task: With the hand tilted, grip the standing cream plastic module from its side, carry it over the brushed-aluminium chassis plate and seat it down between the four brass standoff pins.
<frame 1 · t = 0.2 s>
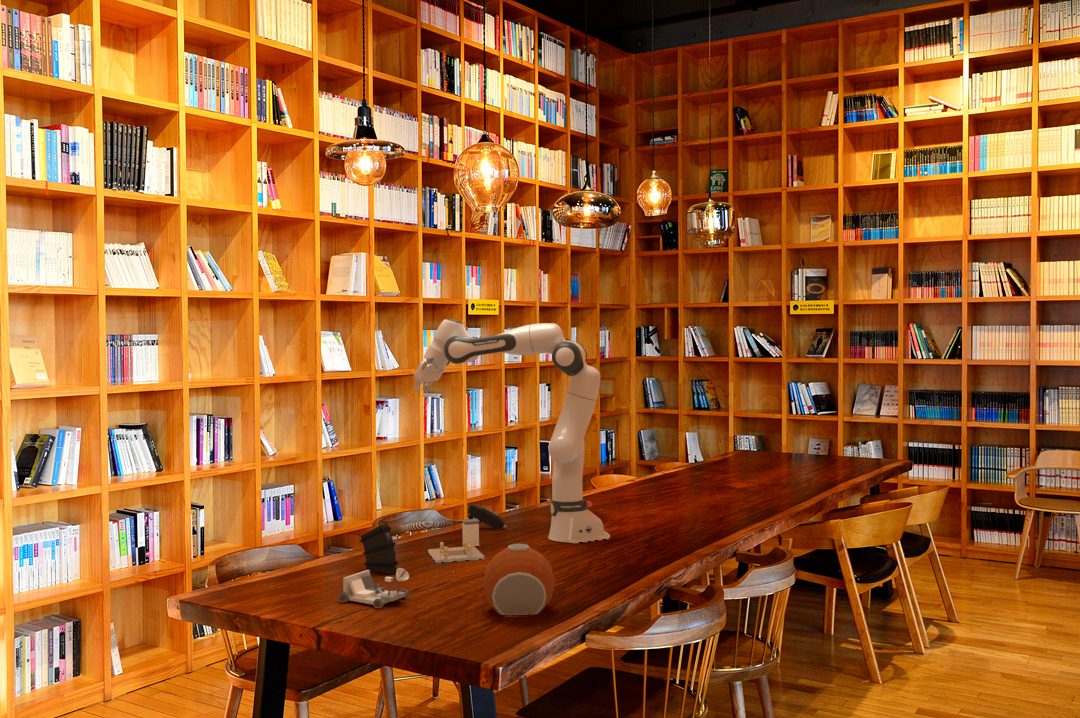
hand: (420, 390, 335), 54 cm above the table, tool tilted 30°, fingers open, 8 cm apart
black ribbed panel: (378, 571, 280), on the table
alarm clock: (519, 610, 237), on the table
module: (470, 545, 314), on the table
chassis: (455, 555, 300), on the table
toy lunar rover: (377, 603, 247), on the table
gun: (487, 529, 343), on the table
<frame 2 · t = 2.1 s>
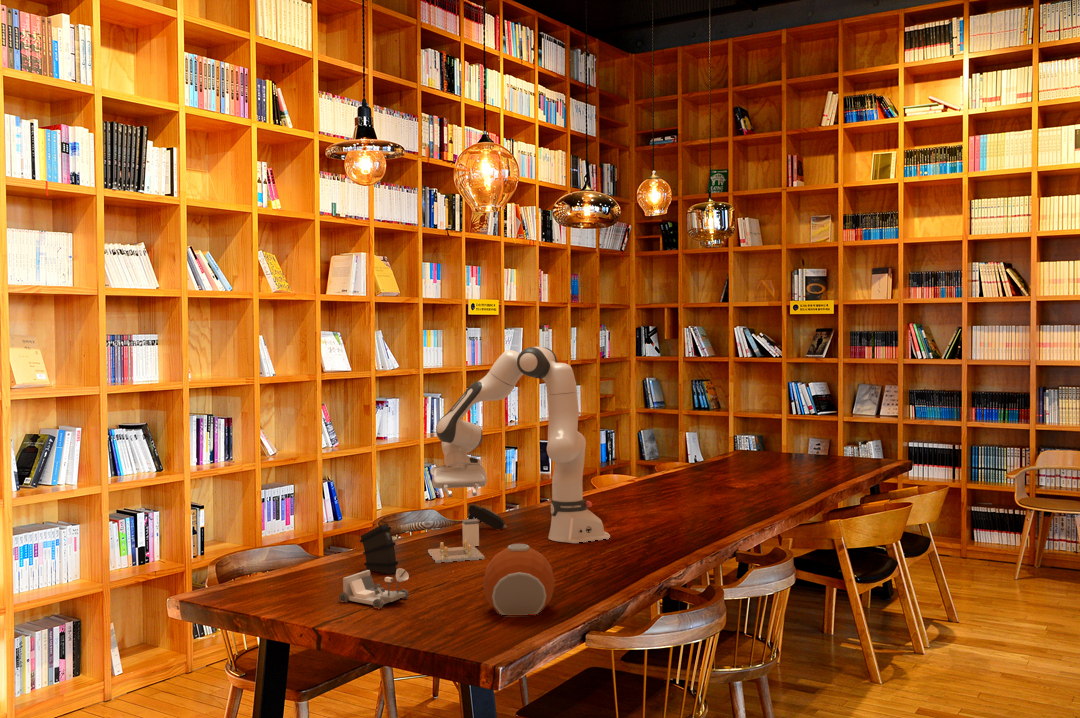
hand: (462, 495, 326), 16 cm above the table, tool tilted 45°, fingers open, 8 cm apart
nothing on the table moved.
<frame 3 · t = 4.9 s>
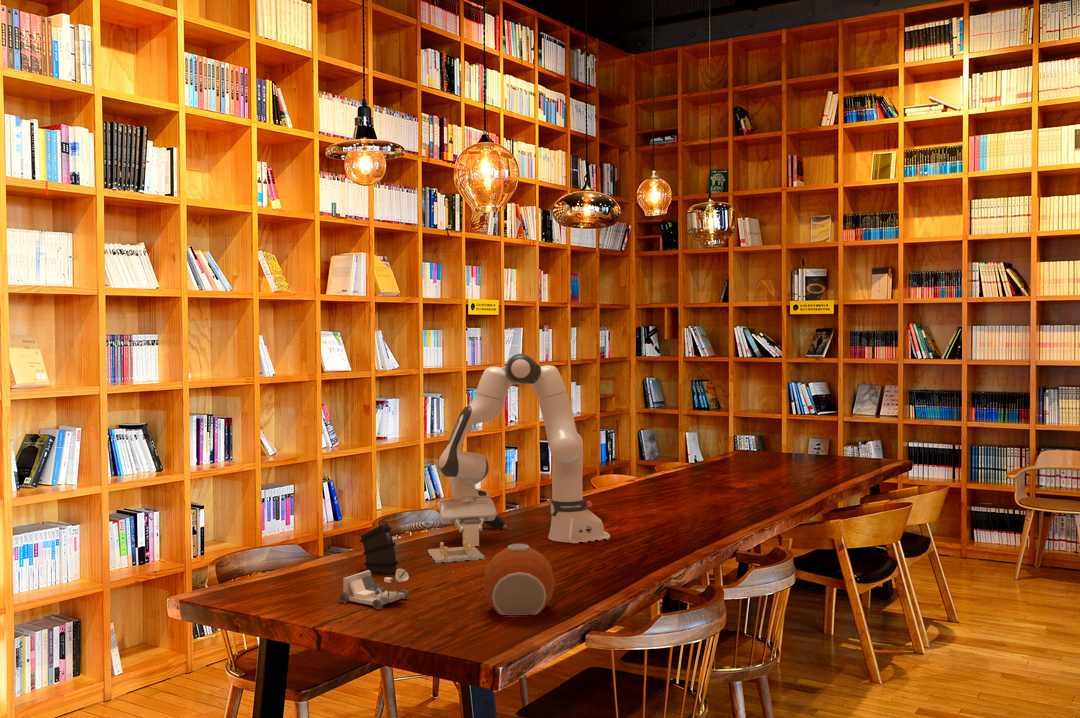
hand: (471, 530, 314), 5 cm above the table, tool tilted 45°, fingers closed on module, 5 cm apart
module: (470, 545, 314), on the table, touching gripper
everything else where it was.
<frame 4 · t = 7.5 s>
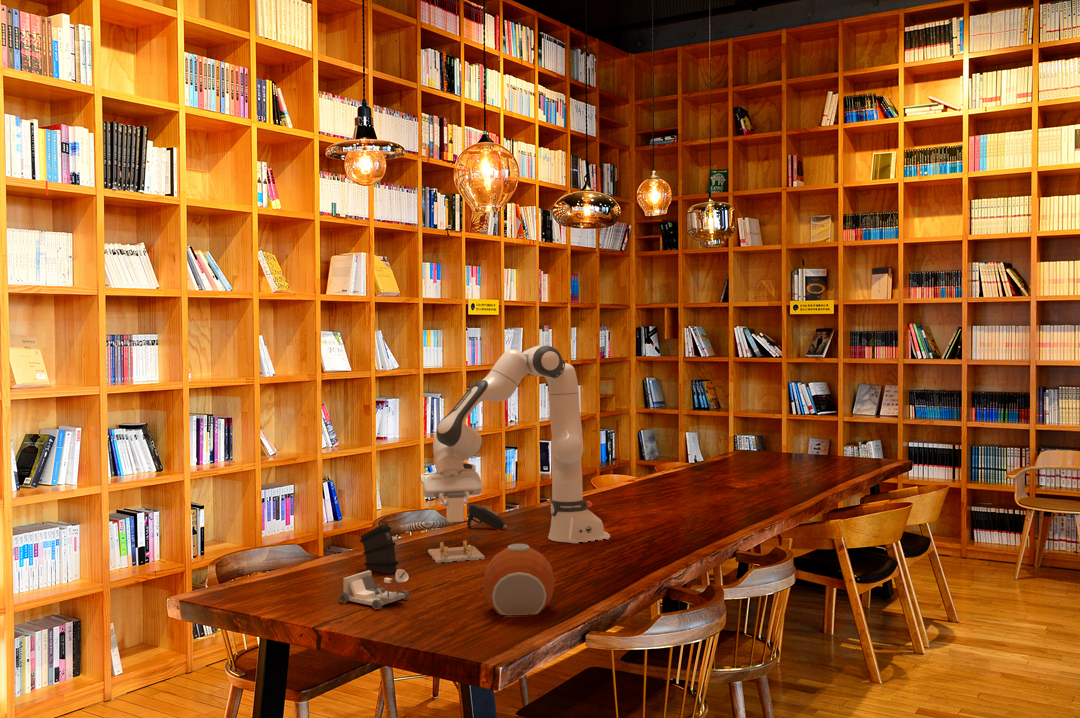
hand: (455, 504, 299), 17 cm above the table, tool tilted 45°, fingers closed on module, 5 cm apart
module: (455, 520, 299), point 12 cm above the table, touching gripper
everything else where it was.
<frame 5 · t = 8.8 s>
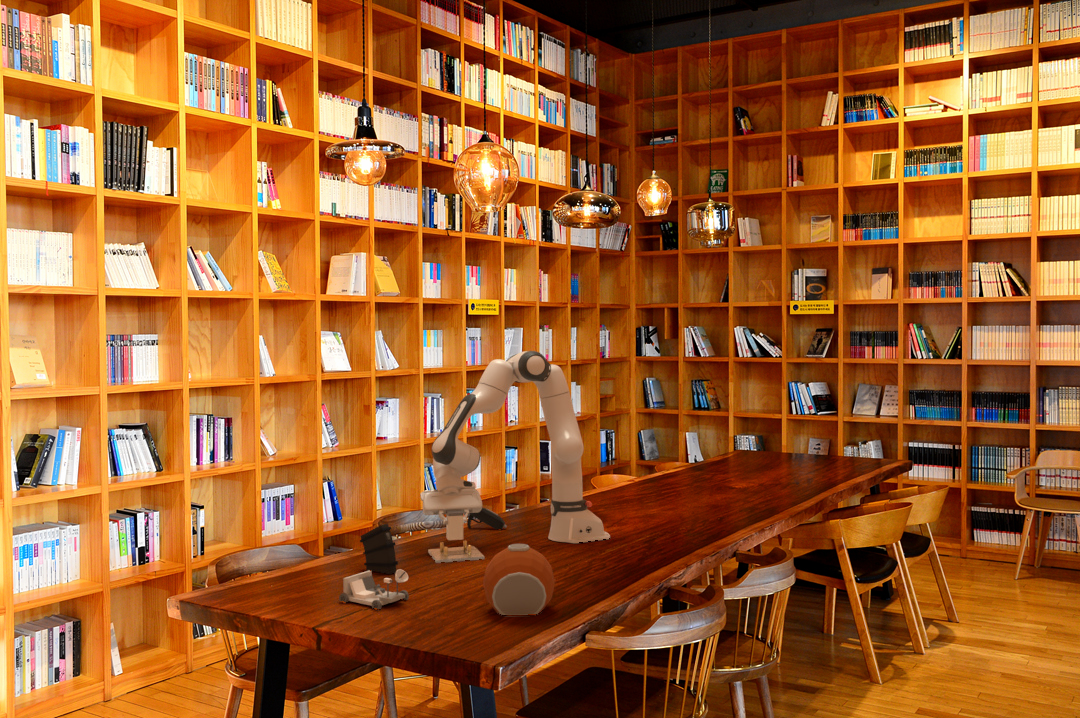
hand: (455, 522, 299), 11 cm above the table, tool tilted 45°, fingers closed on module, 5 cm apart
module: (454, 538, 299), point 6 cm above the table, touching gripper
everything else where it was.
when the fingers open (7 cm above the table, at t = 10.1 s): module stays where it is, resting on chassis.
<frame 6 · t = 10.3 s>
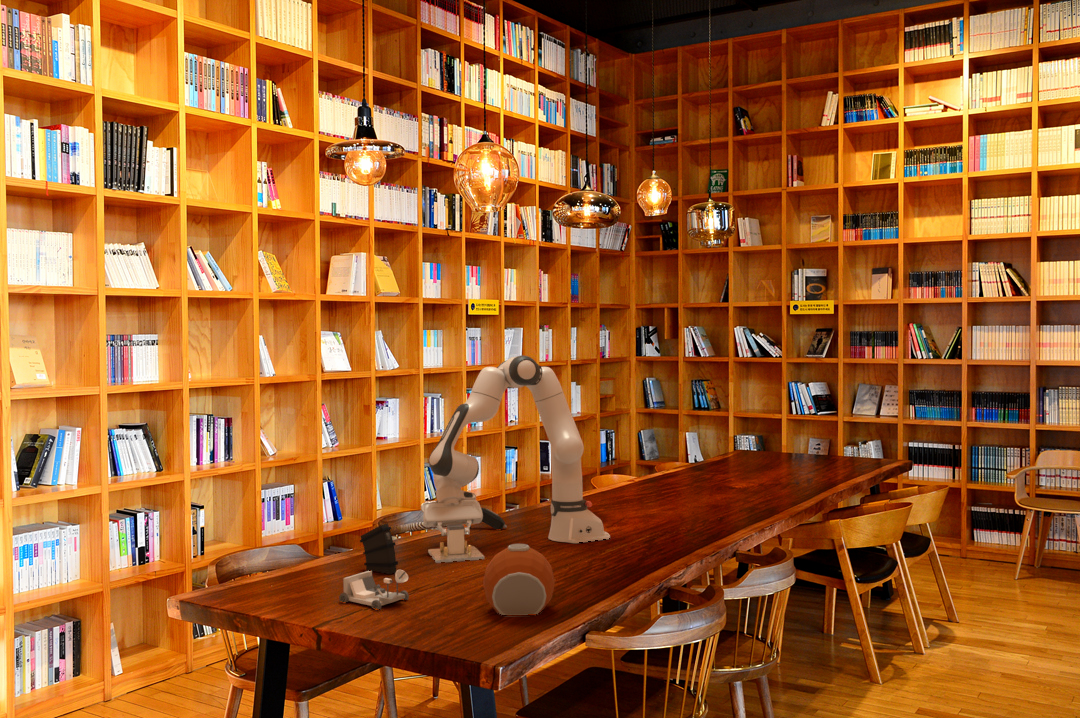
hand: (455, 534, 299), 7 cm above the table, tool tilted 45°, fingers open, 6 cm apart
module: (455, 552, 300), point 1 cm above the table, touching chassis
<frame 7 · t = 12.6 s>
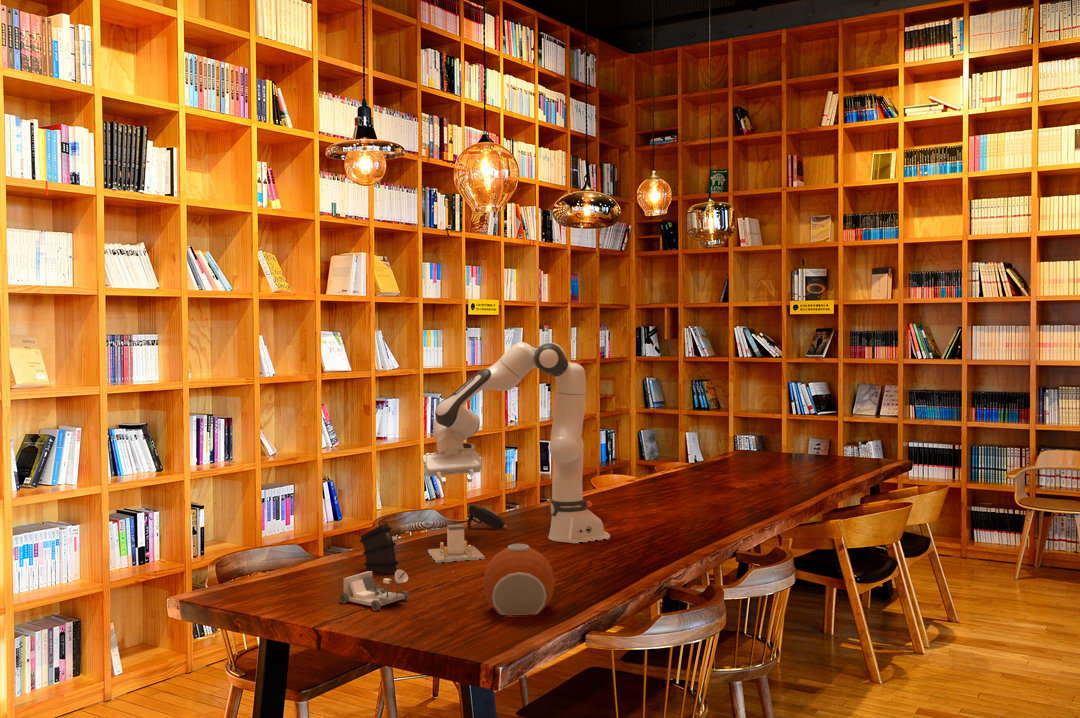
hand: (456, 482, 314), 22 cm above the table, tool tilted 45°, fingers open, 8 cm apart
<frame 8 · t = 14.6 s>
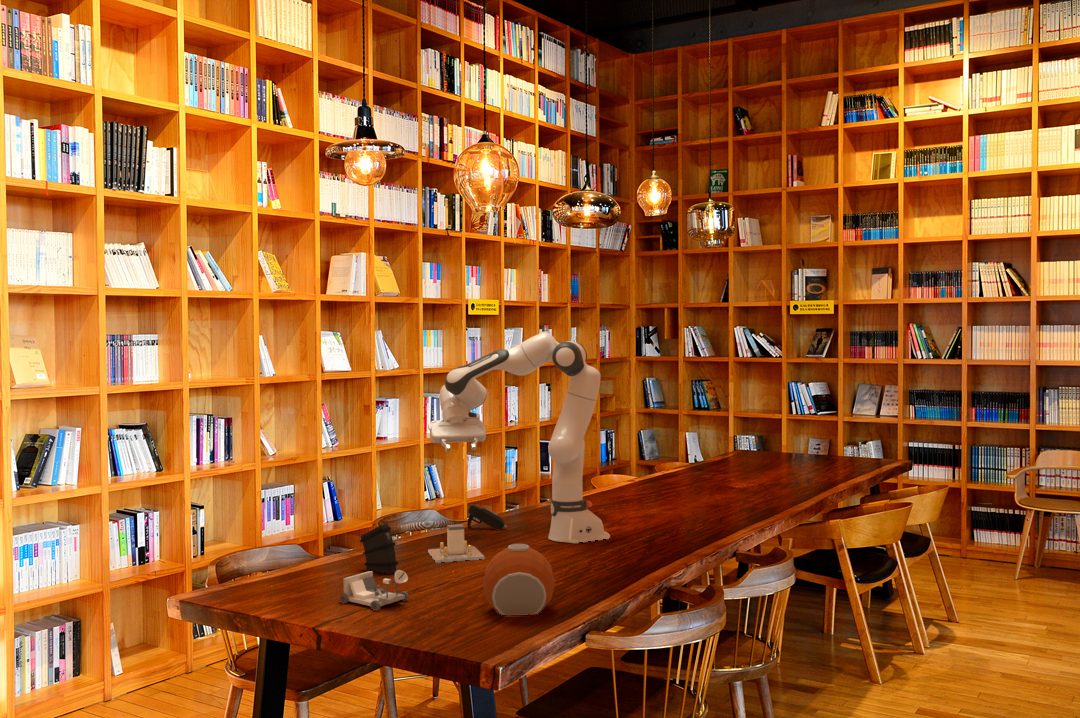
hand: (461, 449, 318), 33 cm above the table, tool tilted 45°, fingers open, 8 cm apart
at the end: module 0.1 cm off-centre on the chassis, point 1.1 cm above the chassis's base; module tilted 0°; the gripper is holding nothing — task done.
